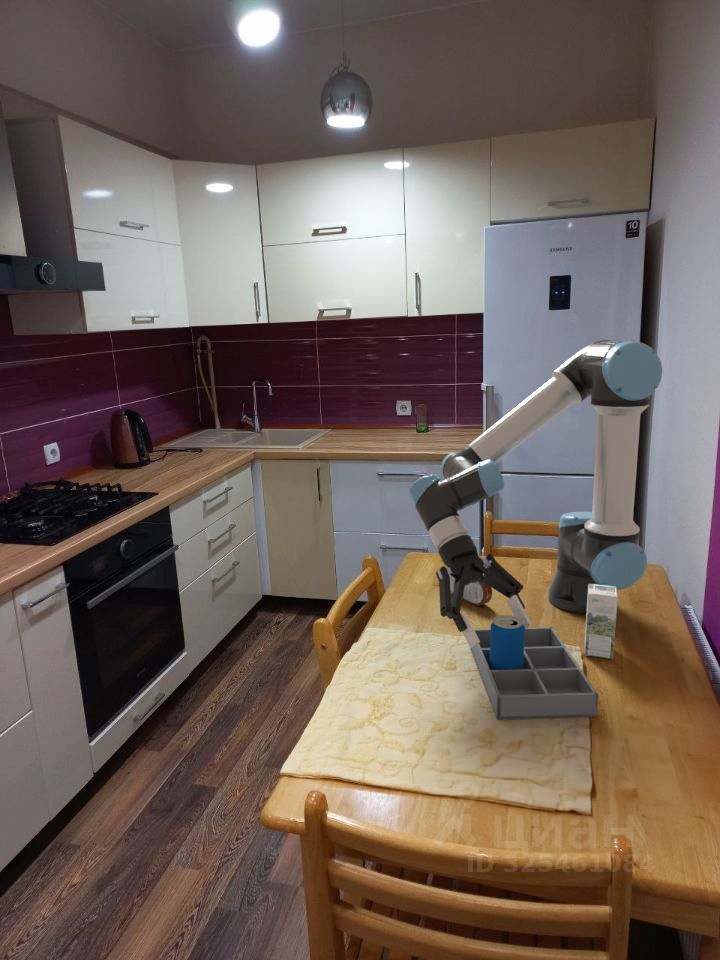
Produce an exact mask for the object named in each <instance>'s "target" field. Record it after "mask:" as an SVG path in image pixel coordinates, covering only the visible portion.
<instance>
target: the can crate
mask: <svg viewBox="0 0 720 960" xmlns="http://www.w3.org/2000/svg"><path fill="white" fill-rule="evenodd" d="M473 629H474V631H475V633H476V635H477V637H478V639H479V641H480V643H479V644H477V645H476V646H474V647H473V648H470V647H469V650H470V651H472V652H471V654H472V656H473V660H474V662H475V665H476V668H477V670H478V673H479V675H480V678H481V681H482V683H483V687H484V689H485V691H486V694H487V696H488V699H489V701H490V704H491V707H492V709H493V712H494V714H495V718H496V720H497V721H504V720H505V721H507V720H508V721H509V720H534V719H536V720H537V719H538V720H540V719H568V718H569V719H571V718H573V719H574V718H576V719H577V718H578V717H579V718H597V717H598V706H599V705H598V700H599V693H598V692H597V690H596V689H595V688H594V686H593V685H592V683H591V682H590V680H589V679H588V677H587V676H586V675H585V673H584V671H583V670H582V668H581V667H580V665H579V664H578V662H577V661H576V660H575V658H574V657H573V655H572V653H571V652H570V651H569V649H568V648H567V646H566V645H565V643H564V642H563V640H562V639H561V637H560V636H559V635H558V633H557V631H556V630H555V628H553V626H548V627H547V626H543V627H542V626H539V627H527V628H525V635H524V658H523V669H516V670H490V669H489V665H490V631H491V628H473ZM579 718H578V719H579Z"/></svg>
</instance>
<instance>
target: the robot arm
mask: <svg viewBox="0 0 720 960" xmlns="http://www.w3.org/2000/svg"><path fill="white" fill-rule="evenodd" d="M661 361H662V360H661V358H660V357H659V355H658V353H657V352H656V351H655V350H654V349H653V348H652V347H651V346H649V345H647V344H646V343H643V342H640V341H635V340H627V339H626V340H610V339H603V340H602V339H601V340H596V341H594V342H591V343H588V345H586V346H584V347H583V348H581V349H579V350H578V351H577V352H575V353H574V354H573V355H572V356H570V357H569V358H568V359H567V360H565V361H563V363H562V364H561V365H559V366H558V367H557V368H556V369H554V370H553V371H552V374H551V378H550V379H549V380H548V381H546V382H544V383H543V385H541V386H540V387H539V388H538V389H536V390H534V392H533V393H531V394H530V395H529V396H528V397H526V398H525V399H524V400H523V401H521V402H520V403H518V404H517V406H514V408H513V409H511V410H510V411H509V412H508V413H507V414H505V415H504V416H503V417H501V418H500V419H498V421H496V422H495V423H493V425H492V426H490V427H489V428H488V429H487V430H485V432H483V433H481V434H480V435H479V436H478V437H477V438H475V439H474V440H473V441H472V442H471V443H469V444H468V445H466V446H465V447H463V448H462V449H461V450H460V451H459V452H458V451H457V452H451V453H449V454H448V455H446V456H445V457H444V458H443V460H442V461H441V466H440V472H441V475H442V476H443V478H444V479H441V478H440V477H439V476H438V475H437V474H435V473H431V474H428V475H422V476H420V477H419V478H417V480H415V481H414V482H412V483H411V485H410V486H409V491H408V494H409V496H410V498H411V501H412V502H413V505H414V507H415V510H416V511H417V514H418V515H419V517H420V519H421V521H422V523H423V525H424V526H425V529H426V531H427V532H428V534H429V536H430V538H431V541H432V544H433V545H434V546H435V548H436V549H437V550H438V551H437V552H438V554H439V556H440V559H441V561H442V562H443V565H442V566H441V567H440V568H439V569H438V570H437V571H436V573H435V575H436V578H437V580H438V587H439V590H438V591H439V608H440V616H441V617H447V618H448V619H449V620H453V622H454V624H455V626H456V629H457V630H458V632H459V633H462V634H463V637H464V638H465V640H466V642H467V644H468V647H469V649H470V648H473V647H474V646H476V645H477V644H479V643H480V641H479V639H478V637H477V635H476V633H475V631H474V629H475V628H474V627H473V624H472V622H471V621H470V618H469V617H468V615H467V613H466V611H465V610H464V611H461V608H462V603H463V593H464V588H465V586H466V585H469V584H470V583H476V582H478V581H479V582H481V583H485V584H487V585H489V586H490V587H491V588H492V590H495V591H496V592H498V593H500V594H501V595H503V596H504V597H506V598H508V599H507V600H506V603H507V604H508V607H509V608H510V611H511V612H512V614H513V616H516V617H518V618H520V619H521V620H522V621H523V625H524V628H529V626H531V625H532V624H533V623H532V621H531V620H530V619H531V618H529V616H528V613H527V612H526V606H525V604H524V602H523V601H522V599H521V597H520V595H519V594H520V593H521V591H522V590H523V589H524V585H523V584H522V583H521V582H519V581H518V580H517V578H515V577H514V576H513V575H512V574H511V573H510V572H508V571H507V570H506V569H505V568H504V567H503V566H502V565H501V564H500V563H499V562H497V560H496V558H495V557H494V556H493V554H491V553H488V554H487V555H486V556H485V557H480V556H479V555H478V548H477V546H476V544H475V542H474V541H473V539H472V537H471V536H470V535H469V531H468V529H467V527H466V526H465V523H464V521H463V520H462V519H461V516H460V515H459V513H458V512H460V511H461V510H464V509H466V508H468V507H470V506H473V505H474V504H476V503H479V502H481V501H483V500H486V499H487V498H490V497H493V496H494V495H496V494H498V493H499V492H501V491H502V490H504V488H505V481H504V477H503V474H502V473H501V471H500V469H499V467H498V466H497V463H499V462H500V461H501V460H502V459H504V458H505V457H506V456H507V455H509V454H510V453H511V452H513V451H514V450H515V449H516V448H517V447H519V446H521V444H522V443H524V442H525V441H527V440H528V439H529V438H530V437H532V436H533V435H534V434H536V432H538V431H539V430H541V429H542V428H543V427H544V426H546V425H547V424H548V423H550V422H551V421H552V420H553V419H554V418H556V417H557V416H558V415H559V414H561V413H562V412H564V410H566V409H567V408H568V407H570V406H571V405H572V404H581V403H583V401H584V400H586V399H587V398H588V397H590V396H591V397H590V406H591V407H592V408H593V409H594V410H595V411H596V413H597V417H596V418H597V419H596V420H597V421H596V434H595V435H596V441H595V452H594V453H595V455H594V456H595V457H594V472H593V473H594V476H593V491H592V494H593V495H592V508H591V509H592V511H573V512H572V511H571V512H567V513H563V514H562V515H561V516H560V517H559V518H560V519H559V523H558V524H559V525H558V528H557V529H558V536H557V537H558V539H557V557H556V558H557V561H556V562H557V563H556V571H555V573H554V576H553V579H552V581H551V583H550V586H549V588H548V597H547V599H548V601H549V603H551V605H554V606H555V607H557V608H559V609H561V610H563V611H568V612H573V613H580V614H586V613H587V597H588V585H589V584H597V585H607V586H616V588H617V591H620V590H624V589H627V588H630V587H632V586H634V585H635V583H637V582H639V581H640V580H641V578H643V576H644V574H645V573H646V570H647V568H648V557H647V554H646V552H645V551H644V549H643V548H642V547H641V546H640V544H639V543H640V531H641V530H640V526H638V524H637V523H635V521H634V512H635V511H634V509H635V508H634V507H635V498H636V495H635V494H636V484H637V483H636V482H637V471H638V470H637V469H638V468H637V467H638V454H639V453H638V452H639V440H640V426H641V414H642V413H643V412H644V411H645V410H646V409H647V408H648V407H650V397H651V395H652V394H654V392H655V390H656V389H657V388H658V387H659V386H660V383H661V381H662V377H663V366H662V362H661ZM450 575H451V576H452V577H453V578H455V581H454V586H453V587H454V591H453V594H452V593H451V590H450Z"/></svg>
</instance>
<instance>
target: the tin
mask: <svg viewBox="0 0 720 960" xmlns="http://www.w3.org/2000/svg"><path fill="white" fill-rule="evenodd" d="M454 581H455V578H453V577H452V576H451V575H450V590H451V595H453V591H454V587H453V586H454ZM492 597H493V588H492V587H490V586H489V585H487V584H485V583H481V582H479V581H478V582H476V583H470V584H469V585H466V586H465V588H464V593H463V599H462V601H465V602H467V603H469V604H472V605H473V606H476V607H478V606H479V607H480V606H483V605H485V604H489V602H490V601H491V600H492Z"/></svg>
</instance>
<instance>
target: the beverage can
mask: <svg viewBox="0 0 720 960" xmlns="http://www.w3.org/2000/svg"><path fill="white" fill-rule="evenodd" d="M490 629H491V631H490V665H489V669H490V670H516V669H523V658H524V635H525V628H524V625H523V621H522V620H521V619H520V618H518V617H516V616H514V615H510V614H500V615H497V616H495V617H493V620H492V622H491V624H490Z"/></svg>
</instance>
